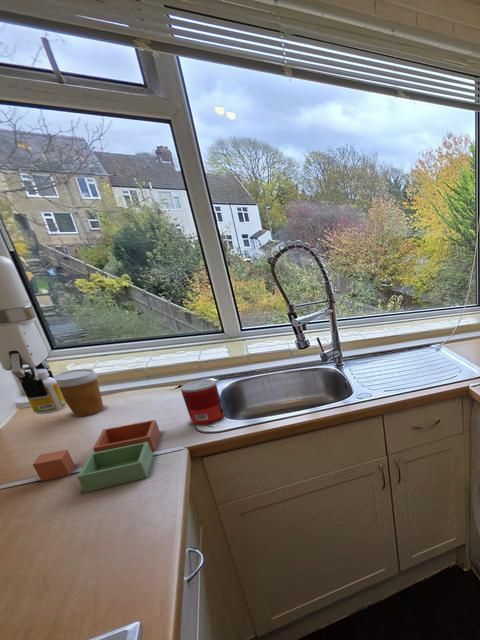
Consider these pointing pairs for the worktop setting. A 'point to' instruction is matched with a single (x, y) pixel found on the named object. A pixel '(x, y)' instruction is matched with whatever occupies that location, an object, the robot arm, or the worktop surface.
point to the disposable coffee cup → (80, 391)
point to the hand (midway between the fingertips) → (42, 390)
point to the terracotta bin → (128, 436)
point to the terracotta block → (54, 465)
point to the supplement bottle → (52, 400)
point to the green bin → (115, 466)
